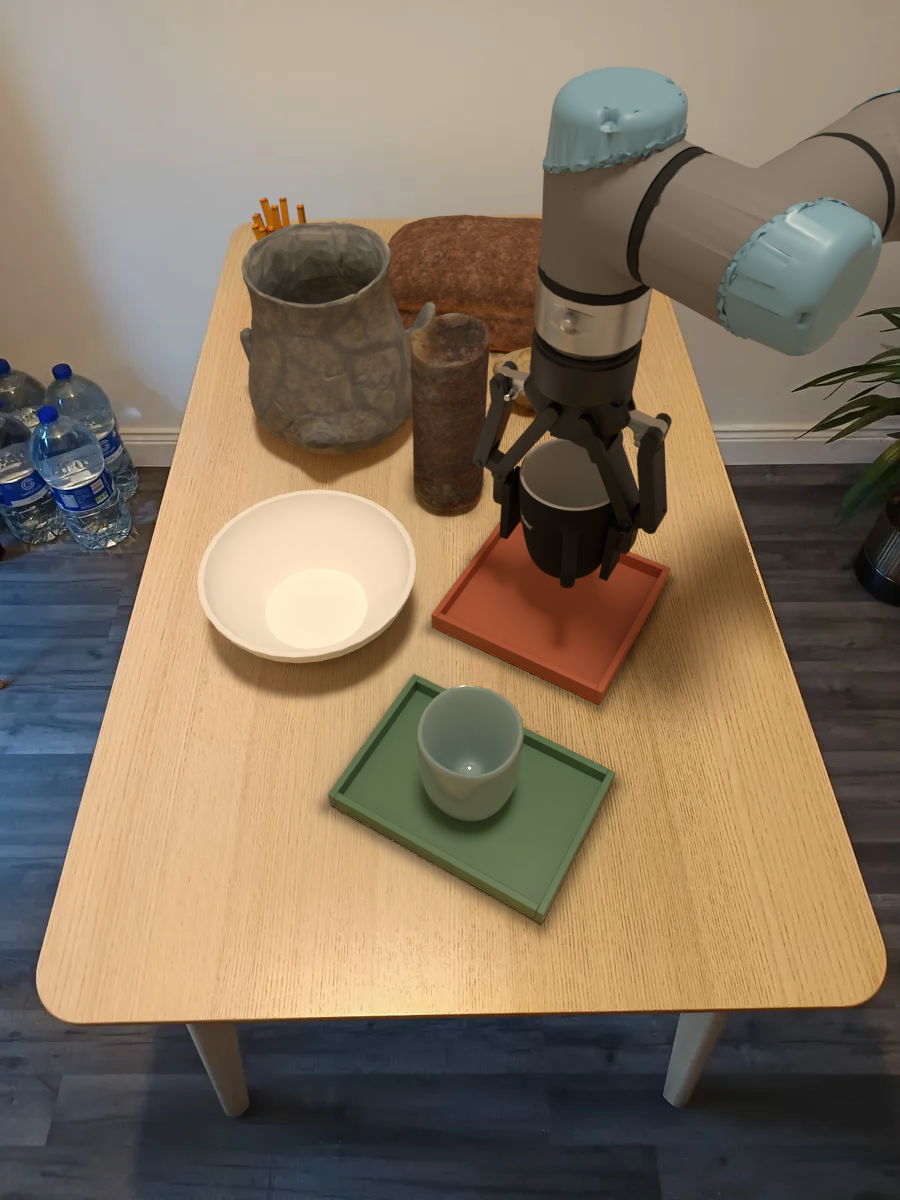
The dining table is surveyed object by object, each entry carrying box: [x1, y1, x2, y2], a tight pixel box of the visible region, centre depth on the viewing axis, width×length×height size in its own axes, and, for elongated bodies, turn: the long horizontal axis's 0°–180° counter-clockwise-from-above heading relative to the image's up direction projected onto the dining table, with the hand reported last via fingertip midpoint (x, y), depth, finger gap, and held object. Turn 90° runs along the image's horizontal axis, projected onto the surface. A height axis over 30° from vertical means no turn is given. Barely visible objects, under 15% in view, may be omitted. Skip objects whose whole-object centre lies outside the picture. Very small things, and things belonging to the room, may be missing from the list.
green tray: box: [327, 673, 616, 924], centre depth 70 cm, size 19×13×2 cm
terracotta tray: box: [430, 520, 671, 705], centre depth 82 cm, size 17×16×2 cm
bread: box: [387, 214, 542, 353], centre depth 107 cm, size 17×29×11 cm, turn 82°
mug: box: [519, 437, 615, 588], centre depth 74 cm, size 12×9×10 cm
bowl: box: [196, 488, 417, 664], centre depth 80 cm, size 20×20×7 cm
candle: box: [410, 313, 490, 512], centre depth 84 cm, size 8×7×20 cm
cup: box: [417, 685, 524, 822], centre depth 66 cm, size 8×8×10 cm
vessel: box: [239, 221, 436, 456], centre depth 91 cm, size 22×22×20 cm
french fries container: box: [251, 197, 307, 242], centre depth 106 cm, size 7×9×14 cm
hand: (558, 548), depth 76 cm, fingers closed on mug, 9 cm apart
